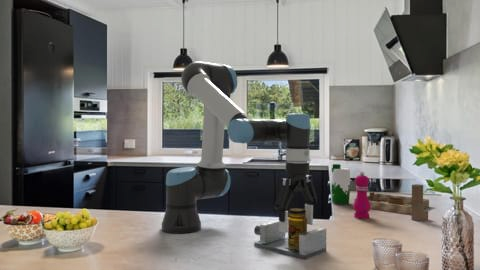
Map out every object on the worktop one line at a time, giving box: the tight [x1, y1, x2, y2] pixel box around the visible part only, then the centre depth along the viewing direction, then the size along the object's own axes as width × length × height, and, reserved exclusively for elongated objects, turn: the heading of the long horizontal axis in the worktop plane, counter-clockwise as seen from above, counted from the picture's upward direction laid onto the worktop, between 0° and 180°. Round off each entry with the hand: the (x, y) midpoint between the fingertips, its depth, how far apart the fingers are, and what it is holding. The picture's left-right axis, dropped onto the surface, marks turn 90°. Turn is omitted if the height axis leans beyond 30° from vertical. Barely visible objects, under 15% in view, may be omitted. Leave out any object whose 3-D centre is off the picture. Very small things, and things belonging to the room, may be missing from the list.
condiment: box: [284, 207, 308, 250], centre depth 134 cm, size 7×8×12 cm
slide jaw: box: [253, 219, 286, 244], centre depth 143 cm, size 8×11×6 cm
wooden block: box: [410, 183, 429, 222], centre depth 178 cm, size 7×3×15 cm, turn 117°
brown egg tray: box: [353, 193, 430, 215], centre depth 207 cm, size 27×25×4 cm
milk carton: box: [330, 163, 351, 205], centre depth 215 cm, size 9×9×20 cm
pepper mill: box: [352, 171, 372, 220], centre depth 182 cm, size 7×7×20 cm
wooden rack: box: [369, 191, 410, 206], centre depth 208 cm, size 18×20×6 cm
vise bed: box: [254, 227, 327, 260], centre depth 136 cm, size 20×12×7 cm, turn 47°
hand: (296, 227), depth 134 cm, fingers open, 13 cm apart
